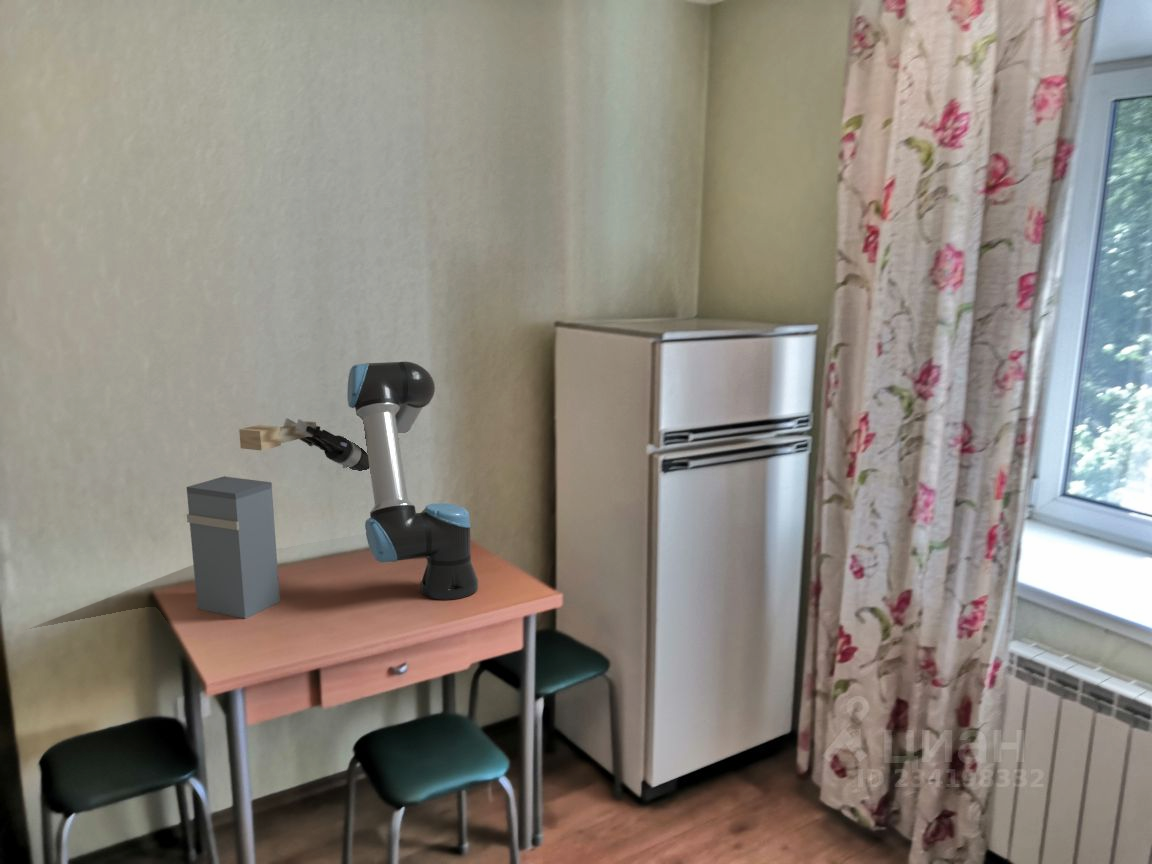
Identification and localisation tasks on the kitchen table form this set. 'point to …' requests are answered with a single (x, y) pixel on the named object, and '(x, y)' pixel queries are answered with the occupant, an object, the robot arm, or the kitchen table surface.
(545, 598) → the kitchen table surface
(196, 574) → the lidded box
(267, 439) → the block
